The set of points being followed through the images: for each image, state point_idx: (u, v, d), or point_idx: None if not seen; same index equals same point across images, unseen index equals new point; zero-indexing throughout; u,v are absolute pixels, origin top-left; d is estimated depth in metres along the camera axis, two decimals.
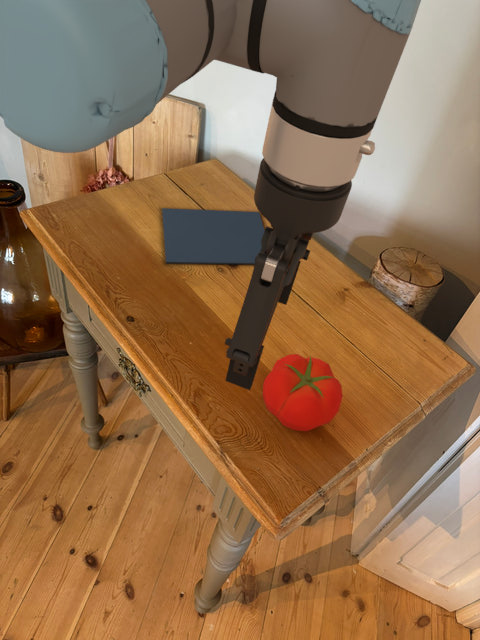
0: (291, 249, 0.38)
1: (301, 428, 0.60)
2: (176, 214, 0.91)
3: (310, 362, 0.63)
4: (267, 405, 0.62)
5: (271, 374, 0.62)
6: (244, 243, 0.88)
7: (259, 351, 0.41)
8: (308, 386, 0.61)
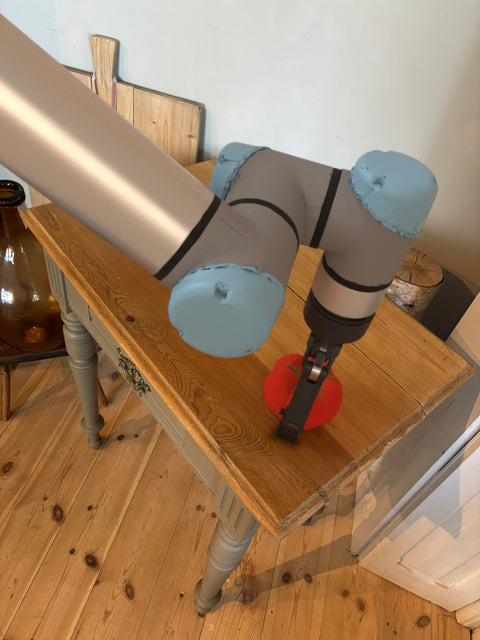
0: (331, 354, 0.51)
1: None
2: None
3: None
4: (268, 404, 0.62)
5: (272, 373, 0.62)
6: None
7: None
8: None
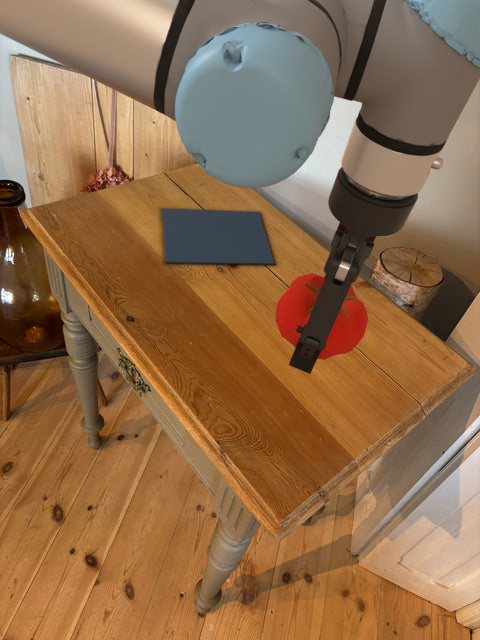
0: (361, 250, 0.43)
1: (321, 354, 0.52)
2: (176, 214, 0.91)
3: None
4: (281, 329, 0.54)
5: (286, 293, 0.53)
6: (244, 243, 0.88)
7: None
8: None
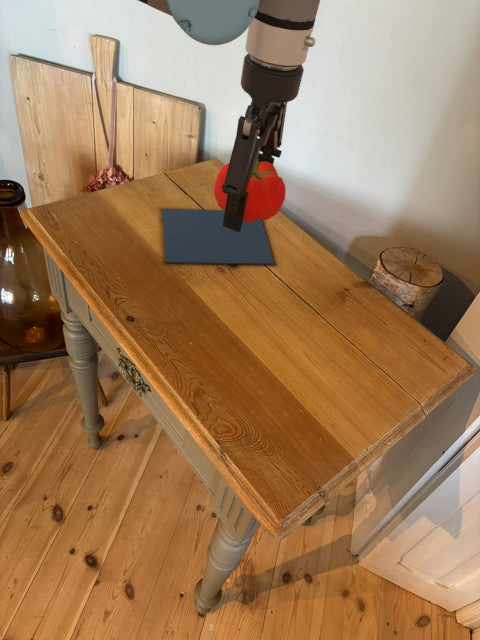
0: (263, 114, 0.58)
1: (246, 214, 0.67)
2: (176, 214, 0.91)
3: (257, 161, 0.69)
4: (217, 197, 0.69)
5: (221, 169, 0.69)
6: (244, 243, 0.88)
7: (244, 191, 0.62)
8: (253, 177, 0.68)
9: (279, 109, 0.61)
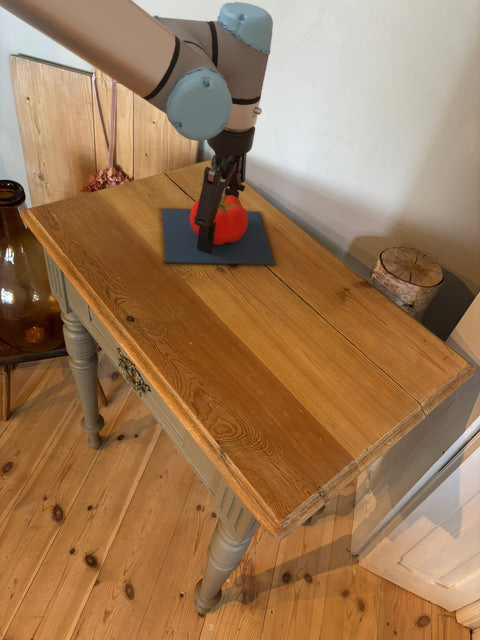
0: (224, 164, 0.74)
1: (215, 239, 0.83)
2: (176, 214, 0.91)
3: (224, 196, 0.86)
4: (192, 225, 0.85)
5: None
6: (244, 243, 0.88)
7: (212, 223, 0.78)
8: (220, 209, 0.84)
9: (238, 158, 0.77)
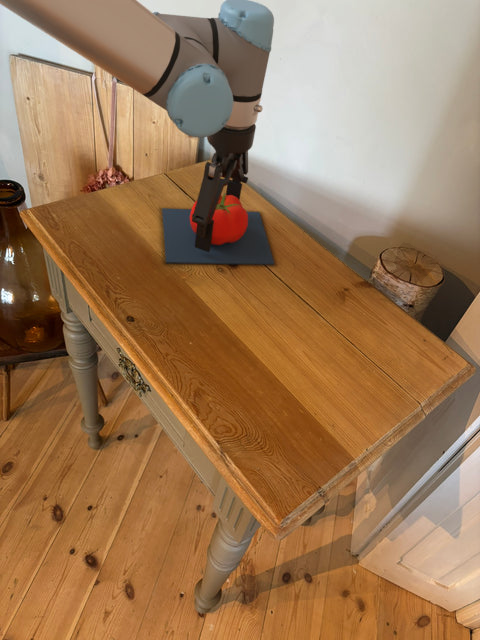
0: (225, 162, 0.73)
1: (215, 239, 0.83)
2: (176, 214, 0.91)
3: (224, 195, 0.86)
4: (192, 225, 0.85)
5: (195, 202, 0.85)
6: (244, 243, 0.88)
7: (210, 220, 0.77)
8: (220, 209, 0.84)
9: (238, 156, 0.77)
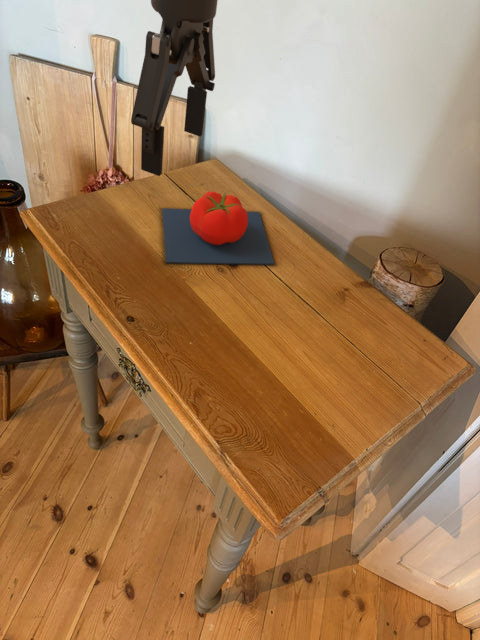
0: (175, 35, 0.52)
1: (215, 239, 0.83)
2: (176, 214, 0.91)
3: (224, 195, 0.86)
4: (192, 225, 0.85)
5: (195, 202, 0.85)
6: (244, 243, 0.88)
7: (157, 123, 0.55)
8: (220, 209, 0.84)
9: (197, 36, 0.56)
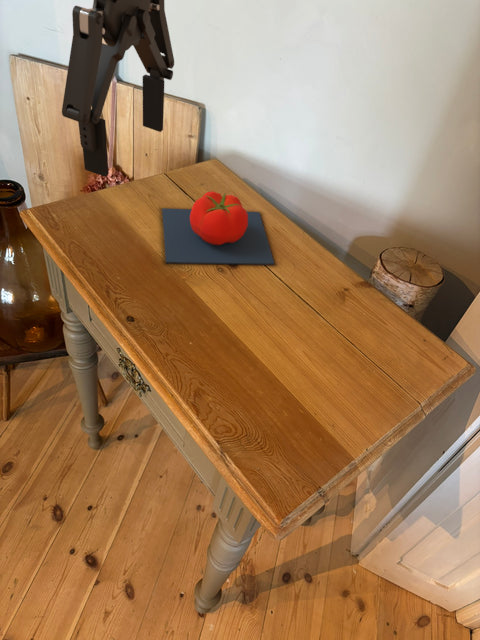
0: (110, 11, 0.44)
1: (215, 239, 0.83)
2: (176, 214, 0.91)
3: (224, 195, 0.86)
4: (192, 225, 0.85)
5: (195, 202, 0.85)
6: (244, 243, 0.88)
7: (94, 115, 0.48)
8: (220, 209, 0.84)
9: (141, 13, 0.48)
